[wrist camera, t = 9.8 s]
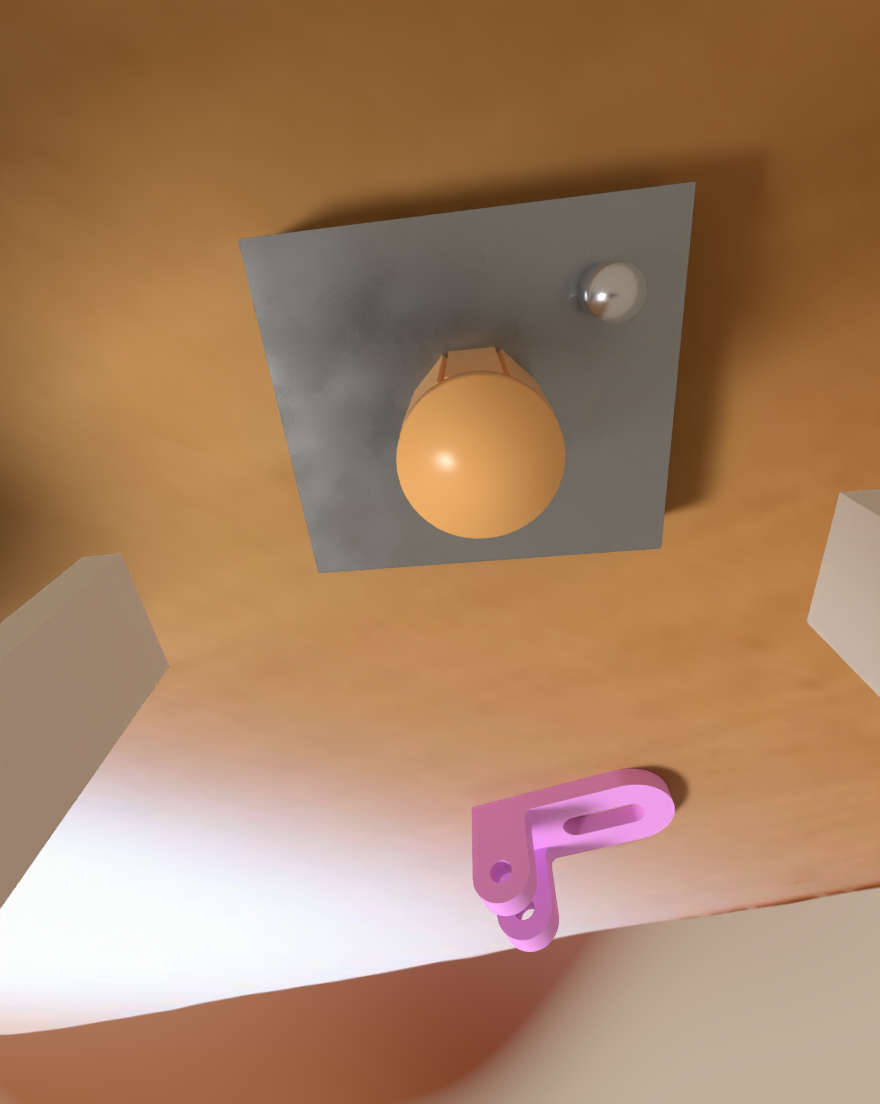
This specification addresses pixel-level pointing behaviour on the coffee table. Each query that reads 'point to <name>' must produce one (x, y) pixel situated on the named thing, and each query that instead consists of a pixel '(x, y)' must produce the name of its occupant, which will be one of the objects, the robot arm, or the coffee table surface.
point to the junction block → (469, 323)
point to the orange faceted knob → (479, 446)
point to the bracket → (556, 842)
